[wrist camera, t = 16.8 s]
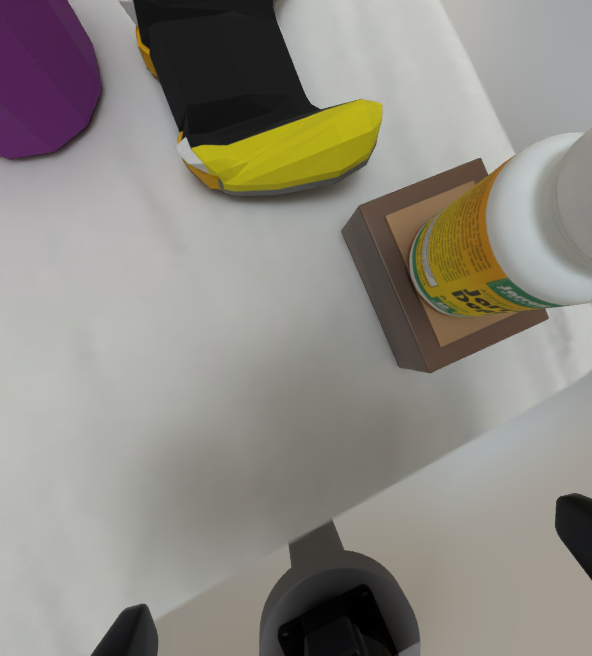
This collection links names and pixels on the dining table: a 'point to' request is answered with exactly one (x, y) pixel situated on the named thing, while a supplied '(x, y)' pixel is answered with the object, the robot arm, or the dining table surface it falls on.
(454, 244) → the supplement bottle
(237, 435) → the dining table surface
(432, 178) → the walnut stand
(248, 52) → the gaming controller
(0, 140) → the mug
